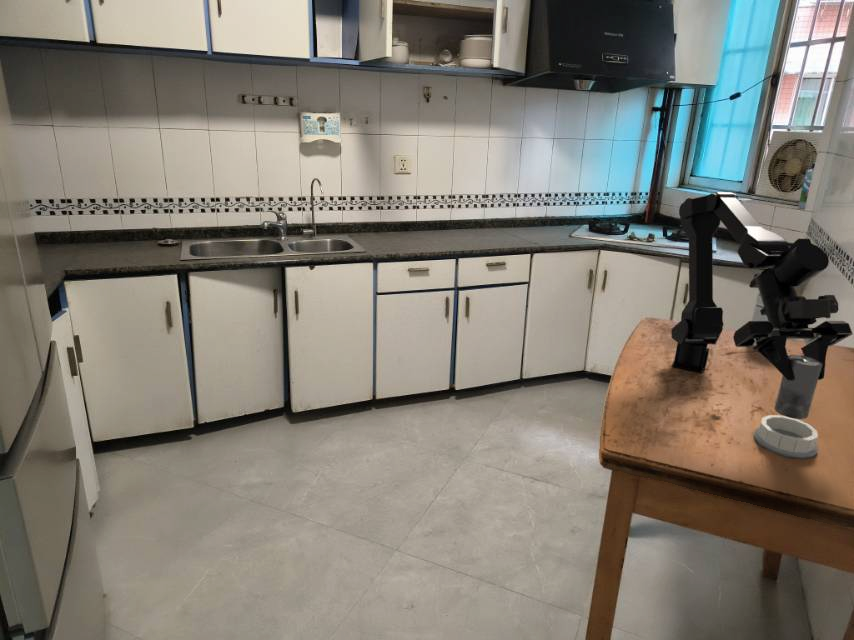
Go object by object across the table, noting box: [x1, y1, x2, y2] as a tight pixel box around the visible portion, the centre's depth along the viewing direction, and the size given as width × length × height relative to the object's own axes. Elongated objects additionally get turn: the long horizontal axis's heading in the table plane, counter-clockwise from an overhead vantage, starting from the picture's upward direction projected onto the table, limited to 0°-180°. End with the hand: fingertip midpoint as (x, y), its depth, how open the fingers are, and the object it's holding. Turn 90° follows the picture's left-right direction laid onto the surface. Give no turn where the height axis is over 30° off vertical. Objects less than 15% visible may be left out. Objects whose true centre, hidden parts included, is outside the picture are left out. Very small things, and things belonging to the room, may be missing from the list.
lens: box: [774, 354, 822, 420], centre depth 104 cm, size 5×5×10 cm
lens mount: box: [753, 414, 819, 459], centre depth 107 cm, size 10×10×3 cm
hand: (805, 379), depth 102 cm, fingers closed on lens, 5 cm apart
